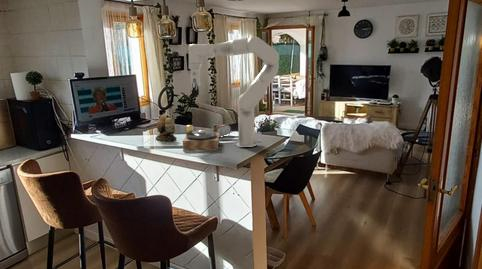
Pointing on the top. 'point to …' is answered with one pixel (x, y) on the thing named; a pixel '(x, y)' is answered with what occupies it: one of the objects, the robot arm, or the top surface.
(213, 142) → the wheel block
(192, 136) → the pot lid
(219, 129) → the tin
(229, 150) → the top surface
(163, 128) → the owl figurine
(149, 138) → the top surface
